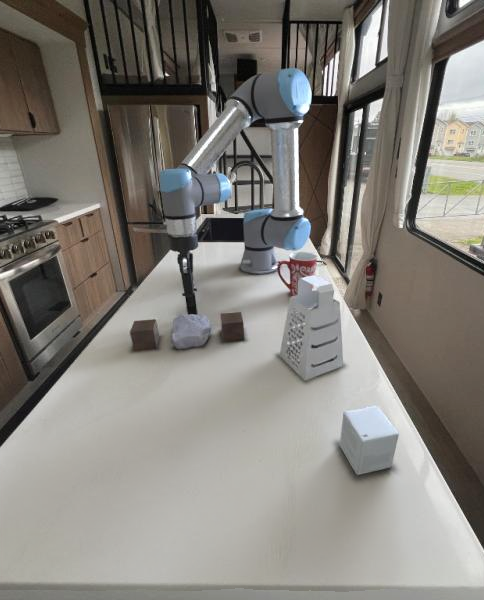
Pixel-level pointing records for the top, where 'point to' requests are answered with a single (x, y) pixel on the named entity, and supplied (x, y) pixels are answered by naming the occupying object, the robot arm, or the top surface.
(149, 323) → the walnut block
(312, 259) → the mug
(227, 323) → the walnut block
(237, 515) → the top surface
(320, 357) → the grater
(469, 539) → the top surface
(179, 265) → the robot arm
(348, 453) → the product box
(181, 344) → the stone block
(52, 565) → the top surface
